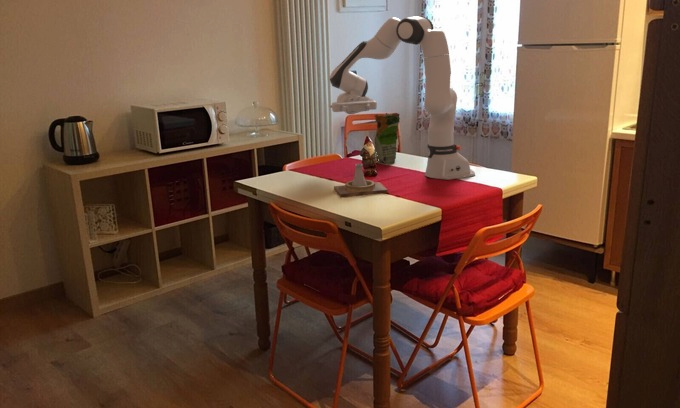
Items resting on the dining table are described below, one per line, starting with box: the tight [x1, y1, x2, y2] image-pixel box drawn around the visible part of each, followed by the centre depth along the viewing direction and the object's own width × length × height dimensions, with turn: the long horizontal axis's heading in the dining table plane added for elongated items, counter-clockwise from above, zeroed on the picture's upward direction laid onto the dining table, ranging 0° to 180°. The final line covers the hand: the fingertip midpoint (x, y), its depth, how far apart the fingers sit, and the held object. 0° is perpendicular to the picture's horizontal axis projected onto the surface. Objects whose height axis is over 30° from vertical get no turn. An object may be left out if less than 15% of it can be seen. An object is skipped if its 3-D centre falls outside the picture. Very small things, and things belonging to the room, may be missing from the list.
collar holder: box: [333, 179, 388, 199], centre depth 244 cm, size 20×13×4 cm, turn 102°
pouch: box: [373, 112, 401, 165], centre depth 292 cm, size 11×12×25 cm
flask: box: [351, 163, 367, 187], centre depth 243 cm, size 7×7×10 cm
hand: (357, 108), depth 256 cm, fingers open, 8 cm apart
